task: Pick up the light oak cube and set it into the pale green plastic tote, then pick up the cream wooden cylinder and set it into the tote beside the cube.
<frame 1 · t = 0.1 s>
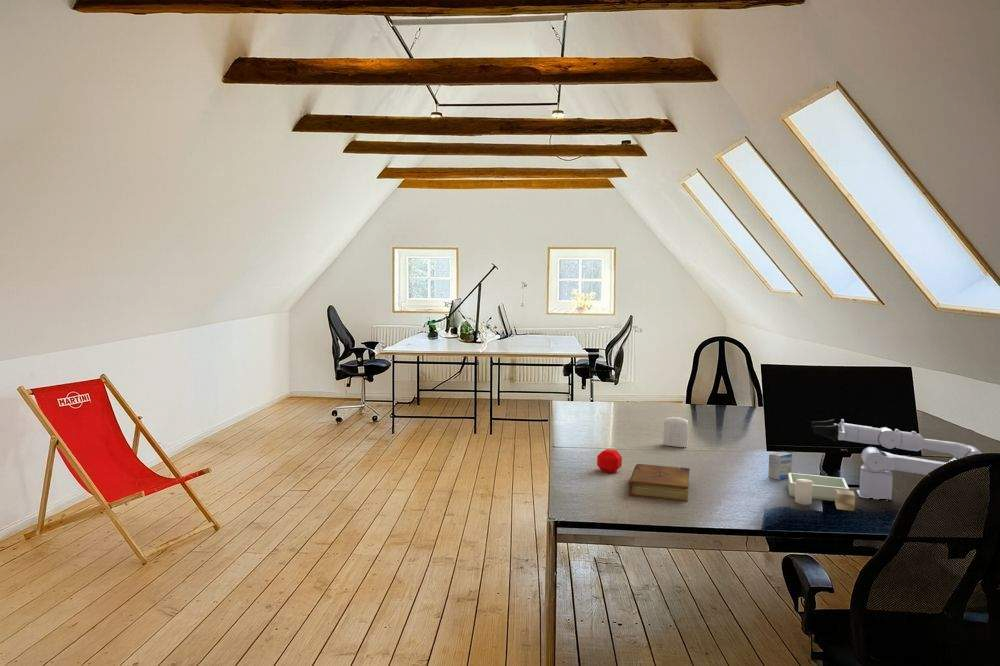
hand: (812, 427, 249), 22 cm above the table, tool horizontal, fingers open, 7 cm apart
white rounded block: (675, 446, 311), on the table
ball: (609, 471, 269), on the table
diary: (659, 491, 248), on the table
oak cube: (844, 507, 232), on the table
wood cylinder: (803, 502, 236), on the table
tote: (816, 493, 246), on the table
medicine box: (779, 477, 266), on the table
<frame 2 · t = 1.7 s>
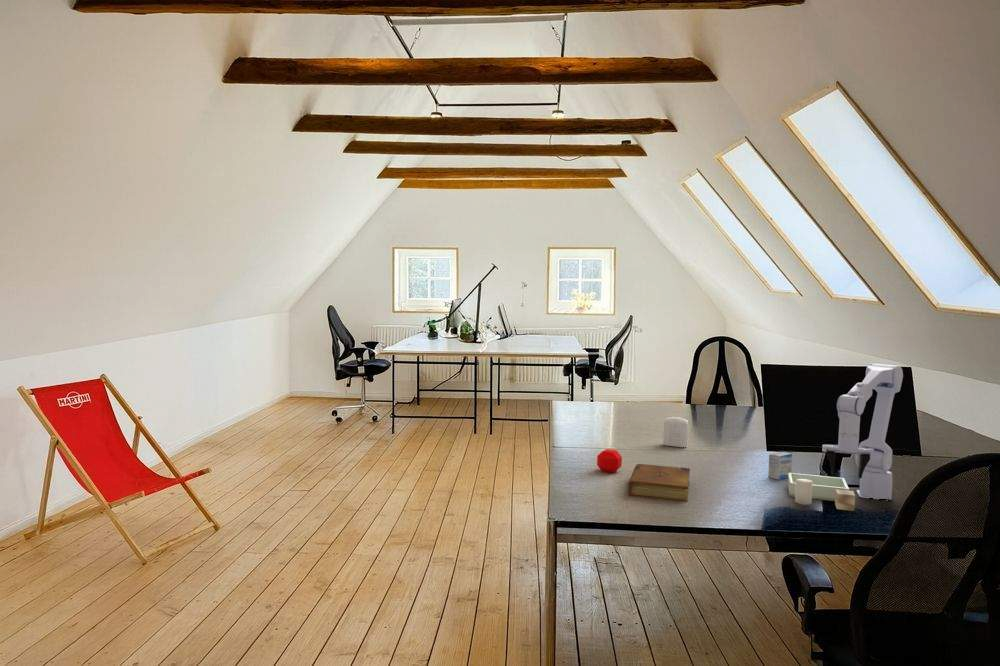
hand: (846, 476, 231), 10 cm above the table, tool pointing down, fingers open, 7 cm apart
nothing on the table moved.
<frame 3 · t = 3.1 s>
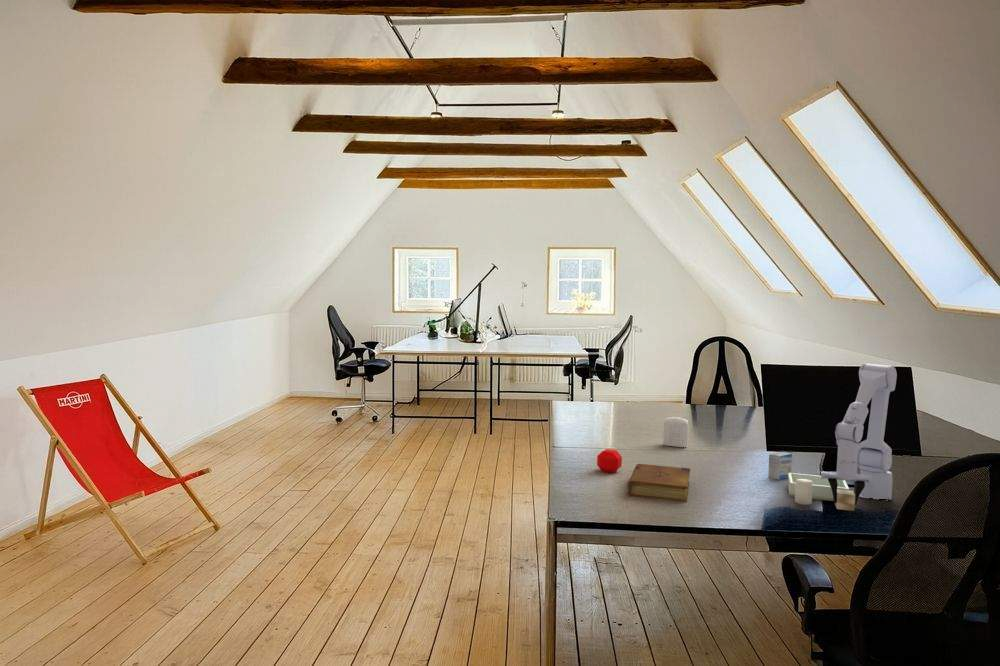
hand: (844, 503, 231), 1 cm above the table, tool pointing down, fingers closed on oak cube, 5 cm apart
oak cube: (844, 507, 232), on the table, touching gripper
everything else where it was.
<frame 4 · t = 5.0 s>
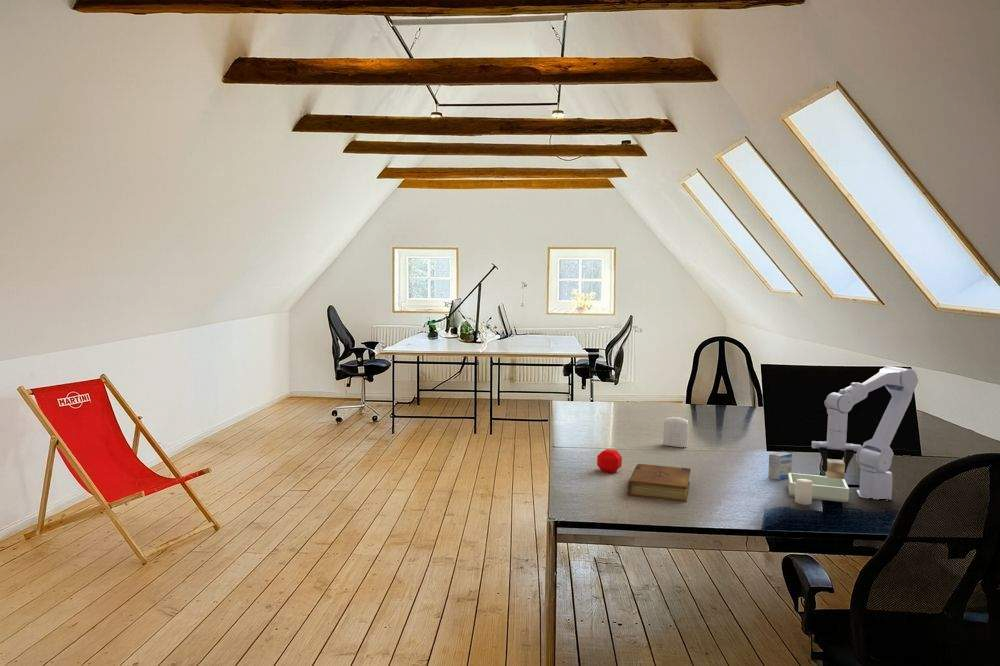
hand: (834, 471, 239), 9 cm above the table, tool pointing down, fingers closed on oak cube, 5 cm apart
oak cube: (834, 476, 239), point 8 cm above the table, touching gripper
everything else where it was.
when the fingers open (4 cm above the table, at t = 6.9 s): oak cube drops 1 cm, resting on tote.
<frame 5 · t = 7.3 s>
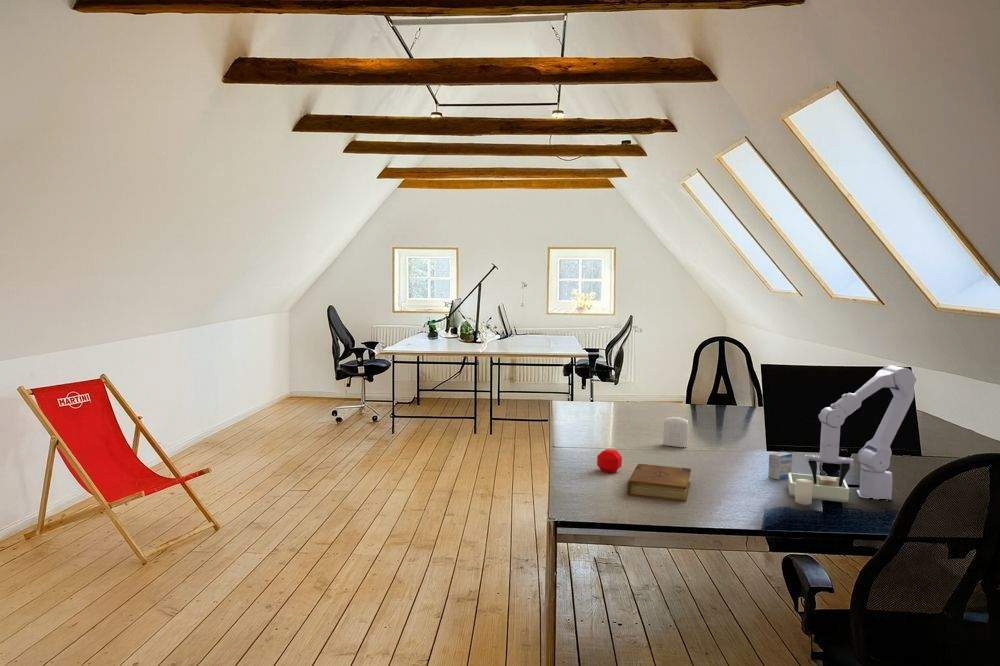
hand: (827, 484, 244), 4 cm above the table, tool pointing down, fingers open, 7 cm apart
oak cube: (827, 493, 244), point 1 cm above the table, touching tote
everything else where it was.
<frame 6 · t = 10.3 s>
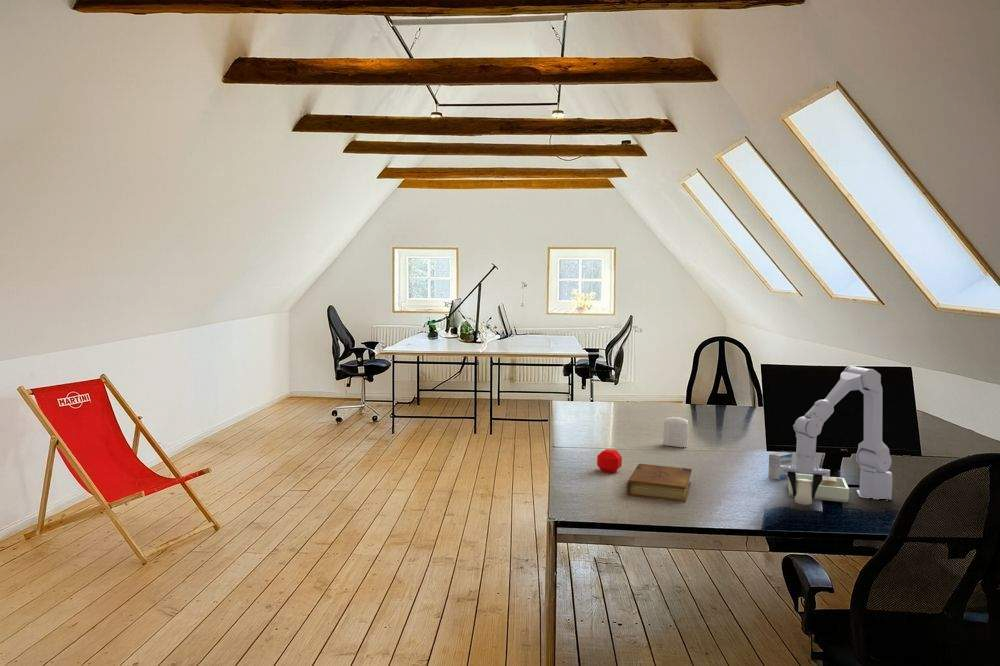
hand: (803, 496, 236), 2 cm above the table, tool pointing down, fingers closed on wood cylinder, 5 cm apart
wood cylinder: (803, 502, 236), on the table, touching gripper
everything else where it was.
when the fingers open (4 cm above the table, at t = 14.0 s): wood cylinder drops 1 cm, resting on tote.
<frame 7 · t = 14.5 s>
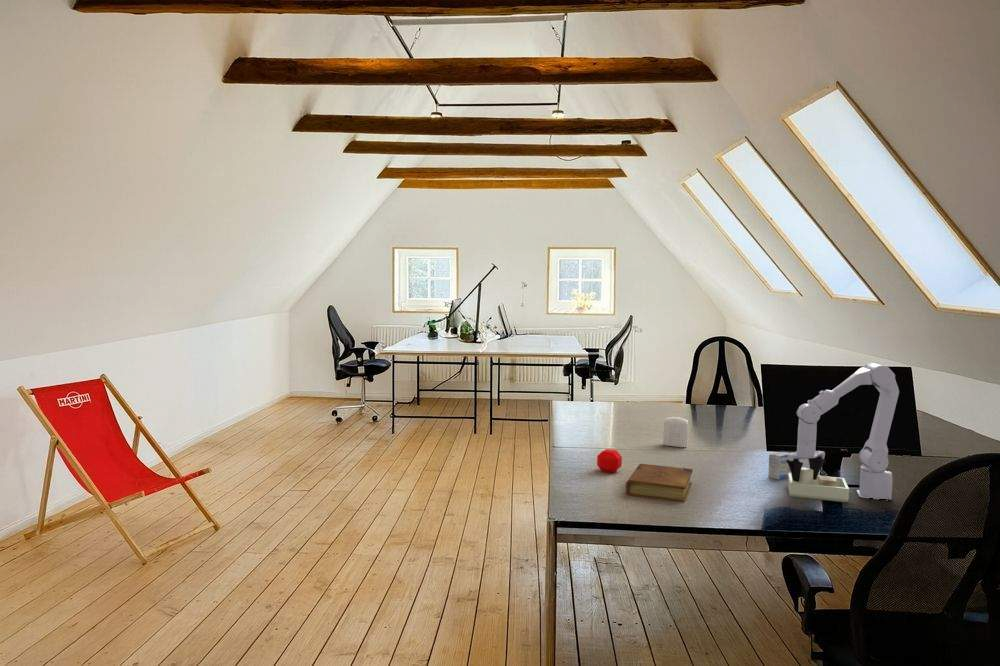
hand: (804, 480, 247), 4 cm above the table, tool pointing down, fingers open, 7 cm apart
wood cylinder: (804, 490, 247), point 1 cm above the table, touching tote
everything else where it was.
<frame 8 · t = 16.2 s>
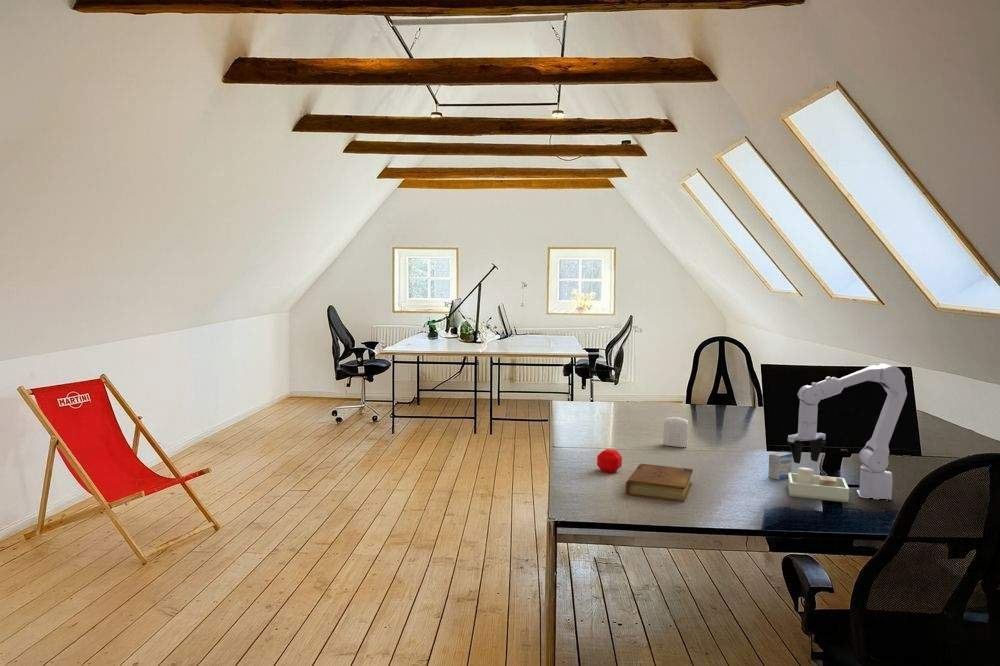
hand: (805, 461, 247), 10 cm above the table, tool pointing down, fingers open, 7 cm apart
nothing on the table moved.
at the end: oak cube inside the target area on the tote (3.2 cm from its centre), point 0.8 cm above the tote's base; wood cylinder inside the target area on the tote (3.9 cm from its centre), point 0.9 cm above the tote's base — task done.
